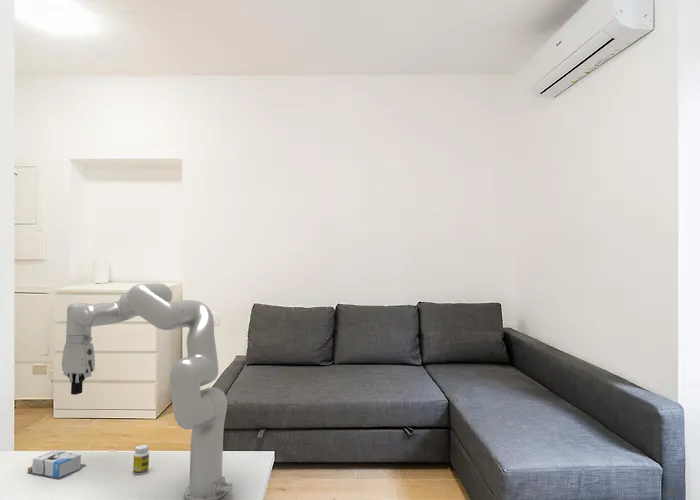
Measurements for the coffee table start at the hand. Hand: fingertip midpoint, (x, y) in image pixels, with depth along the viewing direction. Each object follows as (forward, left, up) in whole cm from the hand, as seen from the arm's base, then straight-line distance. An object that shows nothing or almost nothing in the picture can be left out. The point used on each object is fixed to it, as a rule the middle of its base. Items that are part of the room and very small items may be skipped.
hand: (76, 393), depth 168 cm
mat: (+4, +3, -25) cm, 25 cm away
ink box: (-3, +5, -22) cm, 23 cm away
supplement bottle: (-24, -4, -25) cm, 35 cm away
